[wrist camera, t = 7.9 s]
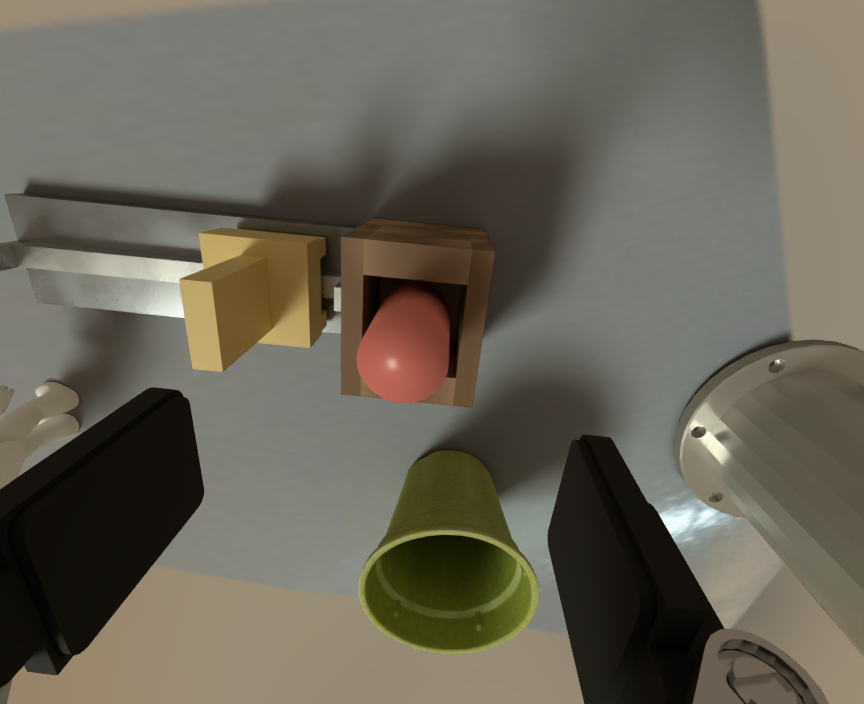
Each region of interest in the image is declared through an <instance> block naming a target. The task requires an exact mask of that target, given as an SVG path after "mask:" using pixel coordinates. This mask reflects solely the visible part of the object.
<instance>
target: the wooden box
mask: <svg viewBox="0 0 864 704" xmlns="http://www.w3.org/2000/svg"><path fill="white" fill-rule="evenodd" d="M494 258H495V250H494V248H493V246H492V244H491V242H490V240H489V238H488V236H487V234H486V232H485V230H484V229H479V228H469V227H459V226H449V225H438V224H428V223H418V222H408V221H398V220H387V219H377V218H373V219H371V220H369V221H368V222H366V223H364V224H363V225H361V226H359V227H357V228H356V229H354V230H352V231H350V232H349V233H347V234H345V235H343V236H342V237H341V394H342V395H352V396H362V397H372V398H381V399H384V398H382V397H380V396H378V395H377V394H375V393H374V392H373V391H372V390H370V389H369V388H368V386H367V385H366V384H365V383H364V381H363V380H362V378H361V376H360V374H359V371H358V367H357V351H358V347H359V344H360V342H361V340H362V338H363V337H364V335H365V333H366V331H367V329H368V328H369V326H370V324H371V322H372V320H373V319H374V317H375V315H376V313H377V311H378V310H379V308H380V306H381V304H382V302H383V301H384V299H385V297H386V296H387V295H388V293H389V292H390V291H391V290H393V289H394V288H395V287H397V286H399V285H402V284H405V283H410V282H419V283H424V284H427V285H429V286H432V287H433V288H435V289H436V290H437V291H439V292H440V293H441V294H442V295H443V297H444V298H445V300H446V301H447V303H448V306H449V310H450V340H449V367H448V373H447V376H446V378H445V380H444V382H443V384H442V385H441V387H440V388H439V389H438V390H437V391H436V392H435V393H434V394H432V395H431V396H429V397H428V398H426V399H423V400H421V401H417V402H420V403H430V404H439V405H449V406H459V407H469V408H472V407H473V401H474V394H475V387H476V380H477V373H478V367H479V360H480V353H481V346H482V339H483V333H484V326H485V319H486V312H487V305H488V299H489V292H490V285H491V278H492V271H493V265H494Z"/></svg>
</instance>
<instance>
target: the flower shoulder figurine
mask: <svg viewBox="0 0 864 704" xmlns="http://www.w3.org/2000/svg"><path fill="white" fill-rule="evenodd" d="M7 389H8V387H7V386H5V385H0V415H1V414H3V413H4V412H5V410H6V409H7V407H8V405H9V403H10V400H11V398H12V396H13V394H14V390H13V389H9V390H7ZM6 390H7V391H6ZM36 395H37V396H38V398H36V399H33V400H31V401H29V402H27V403H25V404H23V405H22V406H20V407H19V408H17V409H16V410H14V411H13V412H11V413H10V414H8V415H7V416H6V417H4V418H3V419H2V420H1V421H0V489H1V488H3V487H4V486H6V485H7V484H8V483H10V482H11V481H13V480H14V479H16V477H17V475H18V474H19V472H20V470H21V467H22V465H23V461H24V459H25V458H27V457H28V456H30V455H31V454H32V453H33V452H35V451H36V450H37V449H38V448H39V447H41V446H44V445H48V444H51V443H55V442H58V441H61V440H64V439H66V438H68V437H70V436H72V435H74V434H76V433H77V432H78V431H79V423H78V421H77V420H76V418H75V417H74V416H71V415H69V414H62V413H65V412H67V411H69V410H72V409H73V408H75V407H77V406H78V404H79V396H78V394H77V393H76V392H75V391H74V390H72V389H70V388H68V387H66V386H64V385H61V384H59V383H56V382H46V383H44V384H42V385H40V386H39V387H38V388H37V389H36ZM37 424H39V425H37Z"/></svg>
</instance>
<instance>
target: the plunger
mask: <svg viewBox="0 0 864 704" xmlns="http://www.w3.org/2000/svg"><path fill="white" fill-rule="evenodd" d="M449 340H450V310H449V306H448V303H447V301H446V300H445V298H444V297H443V295H442V294H441V293H440V292H439V291H437V290H436V289H435V288H433V287H432V286H429V285H427V284H424V283H419V282H410V283H405V284H402V285H399V286H397V287H395V288H394V289H393V290H391V291H390V292H389V293H388V295H387V296H386V297H385V299H384V301H383V302H382V304H381V306H380V308H379V310H378V311H377V313H376V315H375V317H374V319H373V320H372V322H371V324H370V326H369V328H368V329H367V331H366V333H365V335H364V337H363V338H362V340H361V342H360V344H359V347H358V351H357V367H358V371H359V374H360V376H361V378H362V380H363V381H364V383H365V384H366V385H367V386H368V388H369V389H370V390H372V391H373V392H374V393H375V394H377V395H378V396H380V397H382V398H384V399H386V400H389V401H393V402H398V403H413V402H417V401H421V400H423V399H426V398H428V397H429V396H431V395H432V394H434V393H435V392H436V391H437V390H438V389H439V388H440V387H441V385H442V384H443V382H444V380H445V378H446V376H447V373H448V367H449Z"/></svg>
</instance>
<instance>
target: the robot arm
mask: <svg viewBox="0 0 864 704" xmlns="http://www.w3.org/2000/svg"><path fill="white" fill-rule="evenodd" d="M674 458H675V462H676V465H677V469H678V471H679V473H680V475H681V476H682V478H683V480H684V481H685V483H686V484H687V485H688V487H689V488H690V489H691V490H692V492H693V493H694V494H695V495H696V497H698V498H699V499H700V500H701V501H702V502H704V503H705V504H706V505H708V506H710V507H712V508H714V509H716V510H718V511H720V512H722V513H726V514H729V515H733V516H737V517H742V518H747V519H748V520H749V521H750V523H751V524H752V525H753V526H754V527H755V529H756V530H757V531H758V532H759V533H760V535H761V536H762V537H763V538H764V539H765V540H766V542H767V543H768V544H769V545H770V546H771V548H772V549H773V550H774V551H775V552H776V554H777V555H778V556H779V557H780V558H781V560H782V561H783V562H784V563H785V564H786V566H787V567H788V568H789V569H790V570H791V571H792V573H793V574H794V575H795V576H796V577H797V579H798V580H799V581H800V582H801V583H802V585H803V586H804V587H805V588H806V589H807V591H808V592H809V593H810V594H811V595H812V597H813V598H814V599H815V600H816V601H817V602H818V604H819V605H820V606H821V607H822V608H823V610H824V611H825V612H826V613H827V614H828V616H829V617H830V618H831V619H832V620H833V622H834V623H835V624H836V625H837V626H838V628H839V629H840V630H841V631H842V632H843V633H844V635H845V636H846V637H847V638H848V639H849V640H850V642H851V643H852V644H853V645H854V647H855V648H856V649H857V650H858V651H859V653H860V654H861V655H862V656H863V657H864V352H863V351H861V350H859V349H857V348H855V347H851V346H848V345H845V344H841V343H838V342H832V341H822V340H804V341H791V342H787V343H783V344H778V345H774V346H769V347H767V348H764V349H762V350H759V351H757V352H754V353H751V354H749V355H747V356H745V357H743V358H741V359H739V360H738V361H736V362H734V363H732V364H730V365H729V366H727V367H726V368H724V369H723V370H722V371H720V372H719V373H718V374H716V375H715V376H714V377H712V378H711V379H710V380H709V381H708V382H707V383H706V384H705V385H704V386H703V387H702V388H701V389H700V390H699V391H698V392H697V393H696V394H695V396H694V397H693V398H692V400H691V401H690V403H689V404H688V406H687V407H686V409H685V410H684V412H683V414H682V417H681V419H680V421H679V423H678V426H677V429H676V434H675V439H674ZM203 496H204V486H203V480H202V474H201V468H200V462H199V456H198V450H197V444H196V438H195V432H194V426H193V420H192V414H191V408H190V403H189V400H188V399H187V398H185V397H183V394H182V393H181V392H180V391H178V390H172V389H163V388H149V389H146V390H145V391H143V392H142V393H141V394H139V395H138V396H136V397H135V398H133V399H132V400H130V401H129V402H127V403H126V404H124V405H123V406H121V407H120V408H118V409H117V410H116V411H114V412H113V413H111V414H110V415H108V416H107V417H105V418H104V419H102V420H101V421H99V422H98V423H96V424H95V425H94V426H92V427H91V428H89V429H88V430H86V431H85V432H83V433H82V434H80V435H79V436H77V437H76V438H74V439H73V440H72V441H70V442H69V443H67V444H66V445H64V446H63V447H61V448H60V449H58V450H57V451H55V452H54V453H52V454H51V455H50V456H48V457H47V458H45V459H44V460H42V461H41V462H39V463H38V464H36V465H35V466H33V467H32V468H30V469H29V470H28V471H26V472H25V473H23V474H22V475H20V476H19V477H17V478H16V479H14V480H13V481H11V482H10V483H8V484H7V485H6V486H4V487H3V488H1V489H0V704H7V700H8V696H9V691H10V687H11V683H12V678H13V677H14V676H15V675H16V674H17V672H18V671H19V670H20V669H21V668H22V667H23V666H25V668H26V670H27V672H35V673H42V674H51V675H58V674H59V673H60V672H61V670H62V669H63V668H64V667H65V665H66V664H67V663H68V662H69V661H70V659H71V658H72V657H73V656H74V655H77V654H80V653H81V652H82V651H84V650H85V649H86V648H87V647H88V646H89V645H90V643H91V642H92V641H93V639H94V638H95V637H96V636H97V635H98V633H99V632H100V631H101V629H102V628H103V627H104V626H105V624H106V623H107V622H108V620H109V619H110V618H111V617H112V616H113V614H114V613H115V612H116V611H117V609H118V608H119V607H120V605H121V604H122V603H123V602H124V600H125V599H126V598H127V597H128V595H129V594H130V593H131V592H132V590H133V589H134V588H135V587H136V585H137V584H138V583H139V582H140V580H141V579H142V578H143V576H144V575H145V574H146V573H147V571H148V570H149V569H150V568H151V566H152V565H153V564H154V563H155V561H156V560H157V559H158V558H159V556H160V555H161V554H162V553H163V551H164V550H165V549H166V547H167V546H168V545H169V544H170V542H171V541H172V540H173V539H174V537H175V536H176V535H177V534H178V532H179V531H180V530H181V529H182V527H183V526H184V525H185V524H186V522H187V521H188V520H189V518H190V517H191V516H192V515H193V513H194V512H195V511H196V510H197V508H198V507H199V506H200V504H201V502H202V499H203ZM548 547H549V552H550V556H551V561H552V565H553V569H554V574H555V578H556V582H557V587H558V591H559V595H560V600H561V604H562V608H563V613H564V617H565V621H566V626H567V630H568V634H569V639H570V643H571V648H572V652H573V656H574V661H575V665H576V669H577V674H578V678H579V682H580V686H581V691H582V695H583V700H584V704H829V703H828V701H827V699H826V697H825V696H824V694H823V692H822V691H821V689H820V688H819V686H818V685H817V684H816V683H815V682H814V680H813V679H812V678H811V676H809V674H808V673H807V672H806V670H804V669H803V668H802V667H801V666H800V665H799V664H798V663H797V662H796V661H795V660H793V659H792V658H791V657H790V656H789V655H788V654H786V653H785V652H784V651H782V650H780V649H779V648H778V647H776V646H775V645H773V644H772V643H770V642H769V641H767V640H764V639H762V638H760V637H758V636H756V635H754V634H752V633H749V632H745V631H741V630H737V629H724V627H723V625H722V623H721V622H720V620H719V618H718V617H717V615H716V613H715V611H714V610H713V608H712V606H711V604H710V603H709V601H708V599H707V597H706V596H705V594H704V592H703V590H702V589H701V587H700V585H699V584H698V582H697V580H696V578H695V577H694V575H693V573H692V571H691V570H690V568H689V566H688V564H687V563H686V561H685V559H684V558H683V556H682V554H681V552H680V551H679V549H678V547H677V545H676V544H675V542H674V540H673V538H672V537H671V535H670V533H669V531H668V530H667V528H666V526H665V525H664V523H663V521H662V519H661V518H660V516H659V514H658V512H657V511H656V510H655V508H654V507H653V506H652V505H651V504H649V503H648V502H647V501H646V499H645V497H644V495H643V494H642V492H641V490H640V488H639V486H638V485H637V483H636V481H635V479H634V478H633V476H632V474H631V472H630V470H629V469H628V467H627V465H626V463H625V462H624V460H623V458H622V456H621V454H620V453H619V451H618V449H617V447H616V446H615V444H614V442H613V440H612V439H611V438H609V437H603V436H593V435H582V436H581V438H580V440H573V441H572V443H571V445H570V449H569V453H568V457H567V461H566V464H565V468H564V472H563V476H562V480H561V483H560V487H559V491H558V495H557V499H556V503H555V506H554V510H553V514H552V518H551V522H550V526H549V530H548Z"/></svg>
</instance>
